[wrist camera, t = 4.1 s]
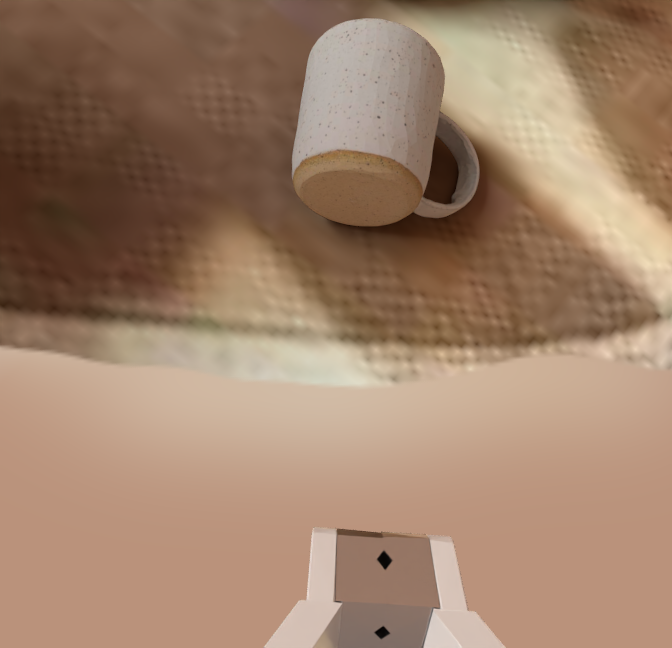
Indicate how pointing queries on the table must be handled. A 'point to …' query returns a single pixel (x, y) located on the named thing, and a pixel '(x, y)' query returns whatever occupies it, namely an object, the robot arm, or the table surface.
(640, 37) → the table surface
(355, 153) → the ceramic mug
